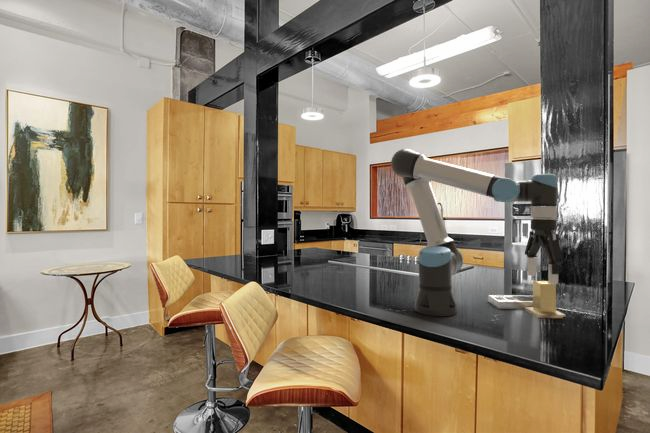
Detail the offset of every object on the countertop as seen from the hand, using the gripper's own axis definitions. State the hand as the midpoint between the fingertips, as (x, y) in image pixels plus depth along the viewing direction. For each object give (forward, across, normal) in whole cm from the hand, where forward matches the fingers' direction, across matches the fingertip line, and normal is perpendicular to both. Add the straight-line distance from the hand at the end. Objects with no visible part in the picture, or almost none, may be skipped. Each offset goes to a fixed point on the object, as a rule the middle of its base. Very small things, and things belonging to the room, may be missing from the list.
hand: (541, 279), depth 119 cm
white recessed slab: (+13, +10, +3) cm, 17 cm away
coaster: (+12, 0, -1) cm, 13 cm away
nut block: (+11, 0, -1) cm, 11 cm away
